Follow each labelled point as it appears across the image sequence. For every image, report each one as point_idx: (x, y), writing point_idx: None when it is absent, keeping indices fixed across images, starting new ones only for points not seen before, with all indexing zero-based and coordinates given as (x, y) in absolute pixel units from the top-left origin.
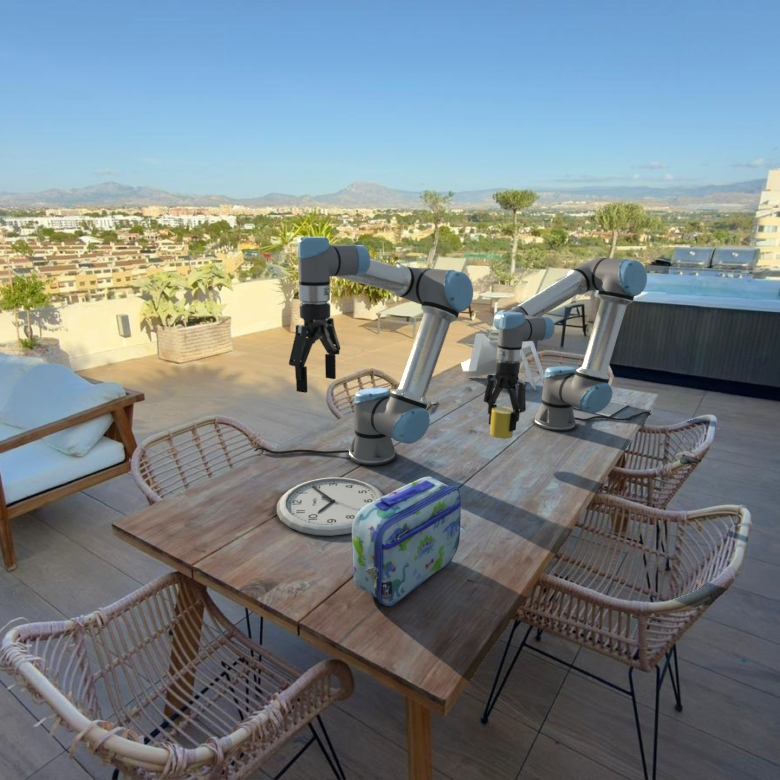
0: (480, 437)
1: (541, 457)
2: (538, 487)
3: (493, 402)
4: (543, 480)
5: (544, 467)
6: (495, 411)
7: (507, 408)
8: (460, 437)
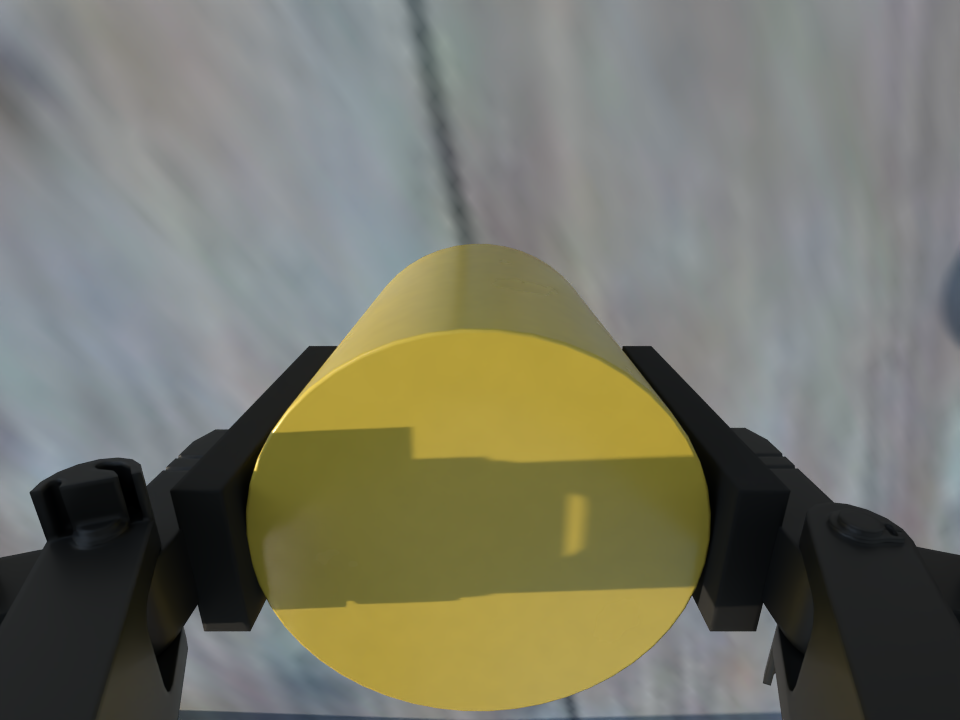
0: (158, 148)
1: (768, 108)
2: (900, 519)
3: (149, 593)
4: (901, 433)
5: (850, 263)
6: (441, 703)
7: (481, 426)
8: (77, 284)
